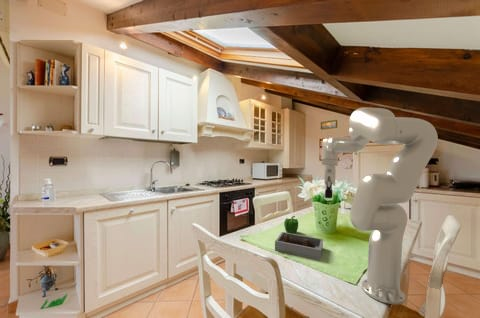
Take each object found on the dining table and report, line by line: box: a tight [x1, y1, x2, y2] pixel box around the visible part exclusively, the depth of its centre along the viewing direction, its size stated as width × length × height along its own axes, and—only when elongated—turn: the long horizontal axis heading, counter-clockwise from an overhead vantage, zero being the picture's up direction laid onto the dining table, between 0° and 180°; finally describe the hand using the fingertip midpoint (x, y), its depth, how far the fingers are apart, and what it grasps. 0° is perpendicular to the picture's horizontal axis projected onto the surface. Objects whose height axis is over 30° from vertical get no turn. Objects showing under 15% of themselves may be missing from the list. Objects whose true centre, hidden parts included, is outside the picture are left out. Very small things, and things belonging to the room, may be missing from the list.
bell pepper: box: [283, 215, 299, 234], centre depth 131 cm, size 8×8×10 cm
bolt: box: [283, 234, 315, 248], centre depth 109 cm, size 6×5×15 cm
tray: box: [274, 231, 324, 261], centre depth 109 cm, size 14×21×4 cm, turn 65°
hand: (328, 196), depth 112 cm, fingers open, 9 cm apart
